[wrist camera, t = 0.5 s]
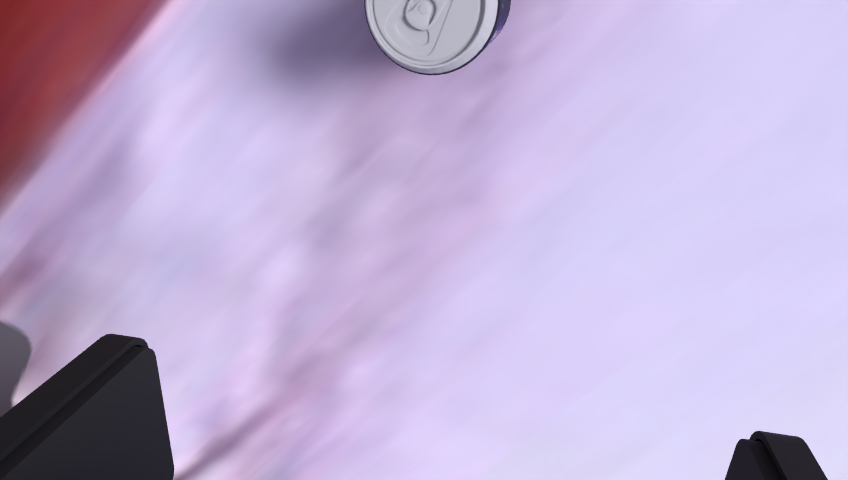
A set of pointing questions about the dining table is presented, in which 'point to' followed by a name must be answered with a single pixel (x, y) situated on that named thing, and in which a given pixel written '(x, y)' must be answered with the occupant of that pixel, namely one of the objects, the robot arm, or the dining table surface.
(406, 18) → the beverage can
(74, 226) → the dining table surface
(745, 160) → the dining table surface
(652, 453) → the dining table surface
